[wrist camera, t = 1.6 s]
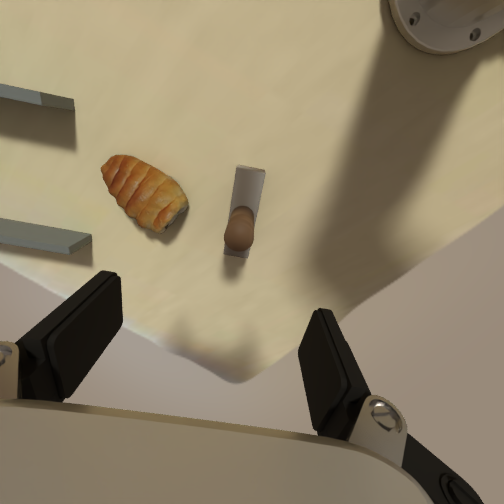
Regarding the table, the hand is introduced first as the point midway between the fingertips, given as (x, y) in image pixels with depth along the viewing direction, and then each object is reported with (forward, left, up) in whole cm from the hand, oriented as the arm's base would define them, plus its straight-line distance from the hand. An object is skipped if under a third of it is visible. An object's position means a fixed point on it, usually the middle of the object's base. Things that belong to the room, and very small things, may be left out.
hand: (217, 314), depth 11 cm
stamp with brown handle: (0, 0, -19) cm, 19 cm away
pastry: (+11, 0, -19) cm, 22 cm away
